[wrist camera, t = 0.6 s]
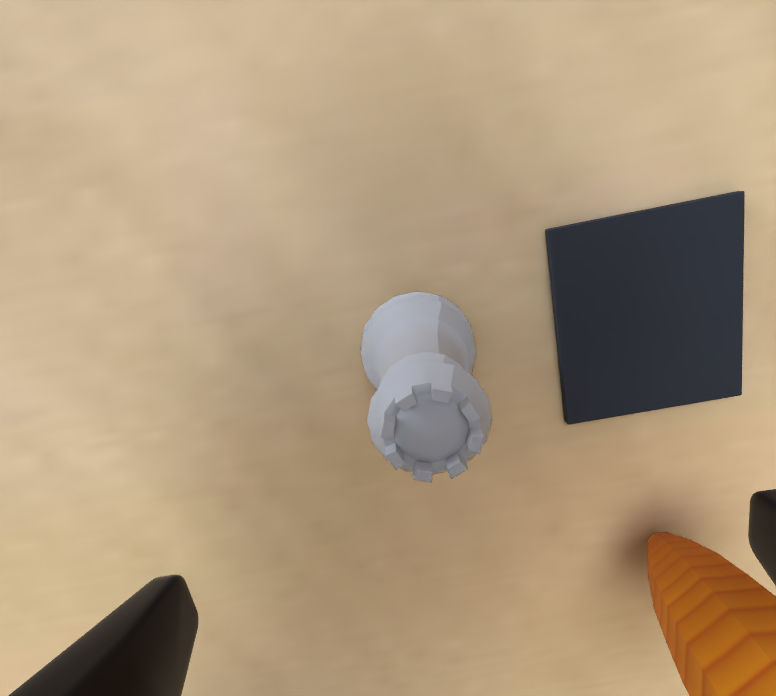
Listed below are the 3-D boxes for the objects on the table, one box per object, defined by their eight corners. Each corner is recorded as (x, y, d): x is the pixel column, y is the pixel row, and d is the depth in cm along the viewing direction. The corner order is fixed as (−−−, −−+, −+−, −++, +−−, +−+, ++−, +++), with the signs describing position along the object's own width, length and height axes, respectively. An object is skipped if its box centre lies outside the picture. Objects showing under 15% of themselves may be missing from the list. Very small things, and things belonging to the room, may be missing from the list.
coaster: (735, 391, 20) (742, 395, 20) (564, 420, 20) (567, 425, 20) (737, 191, 18) (745, 191, 17) (545, 229, 18) (548, 229, 18)
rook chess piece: (385, 271, 19) (379, 321, 11) (490, 313, 19) (556, 389, 11) (345, 373, 20) (316, 482, 12) (446, 410, 20) (478, 537, 13)
